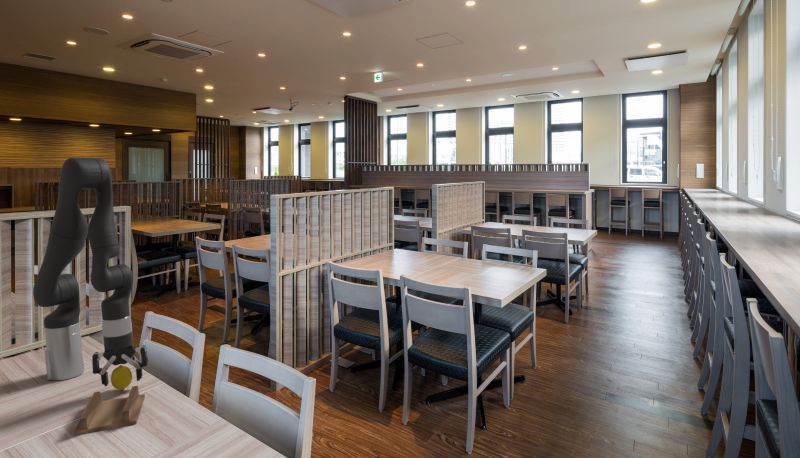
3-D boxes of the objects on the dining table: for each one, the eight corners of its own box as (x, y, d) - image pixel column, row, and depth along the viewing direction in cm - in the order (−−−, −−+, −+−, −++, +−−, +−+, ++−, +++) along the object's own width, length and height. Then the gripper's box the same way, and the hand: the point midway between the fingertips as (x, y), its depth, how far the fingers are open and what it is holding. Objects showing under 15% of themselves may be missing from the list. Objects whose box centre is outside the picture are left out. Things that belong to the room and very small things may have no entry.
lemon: (137, 386, 142) (135, 361, 141) (124, 395, 137) (122, 369, 136) (120, 385, 143) (118, 361, 142) (107, 394, 138) (105, 369, 136)
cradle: (74, 435, 117) (72, 420, 116) (89, 406, 131) (88, 393, 130) (136, 423, 122) (135, 409, 121) (144, 397, 136) (143, 384, 135)
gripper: (146, 324, 143) (150, 373, 146) (93, 330, 138) (98, 381, 140) (142, 332, 136) (147, 383, 139) (86, 339, 131) (92, 392, 134)
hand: (122, 382), depth 140 cm, fingers open, 8 cm apart
